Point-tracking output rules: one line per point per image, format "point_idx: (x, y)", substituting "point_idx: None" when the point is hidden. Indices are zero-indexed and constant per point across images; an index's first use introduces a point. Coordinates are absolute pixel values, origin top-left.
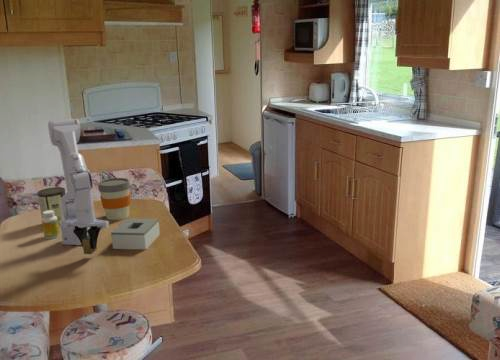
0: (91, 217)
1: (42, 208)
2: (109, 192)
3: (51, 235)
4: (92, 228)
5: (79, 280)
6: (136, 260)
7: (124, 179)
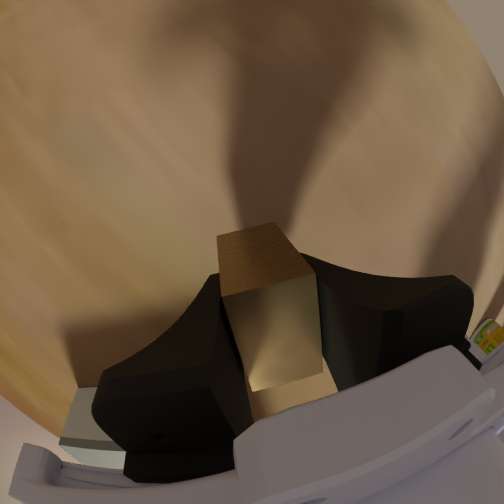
0: None
1: None
2: None
3: (484, 331)
4: (195, 450)
5: (112, 4)
6: (19, 297)
7: None
